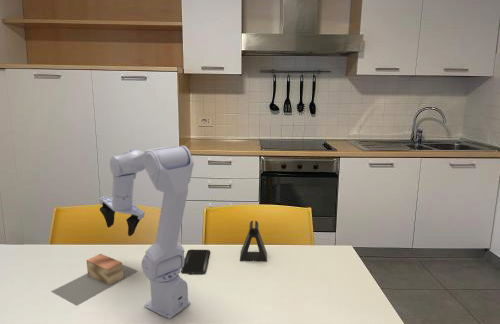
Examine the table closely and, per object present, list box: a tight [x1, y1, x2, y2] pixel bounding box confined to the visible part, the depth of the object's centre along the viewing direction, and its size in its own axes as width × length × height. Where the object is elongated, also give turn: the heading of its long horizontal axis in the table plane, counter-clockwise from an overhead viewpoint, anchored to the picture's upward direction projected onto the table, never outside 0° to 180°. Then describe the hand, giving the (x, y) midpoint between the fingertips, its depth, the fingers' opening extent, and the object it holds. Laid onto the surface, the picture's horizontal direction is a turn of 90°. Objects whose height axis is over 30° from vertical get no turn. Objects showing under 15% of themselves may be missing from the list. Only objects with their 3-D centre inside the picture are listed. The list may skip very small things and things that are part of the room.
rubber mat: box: [51, 264, 139, 307], centre depth 112 cm, size 12×21×1 cm, turn 148°
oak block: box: [86, 253, 123, 285], centre depth 114 cm, size 10×5×5 cm, turn 58°
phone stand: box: [239, 220, 268, 263], centre depth 126 cm, size 9×6×12 cm, turn 88°
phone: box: [180, 249, 211, 276], centre depth 123 cm, size 8×1×15 cm
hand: (120, 230), depth 116 cm, fingers open, 7 cm apart
